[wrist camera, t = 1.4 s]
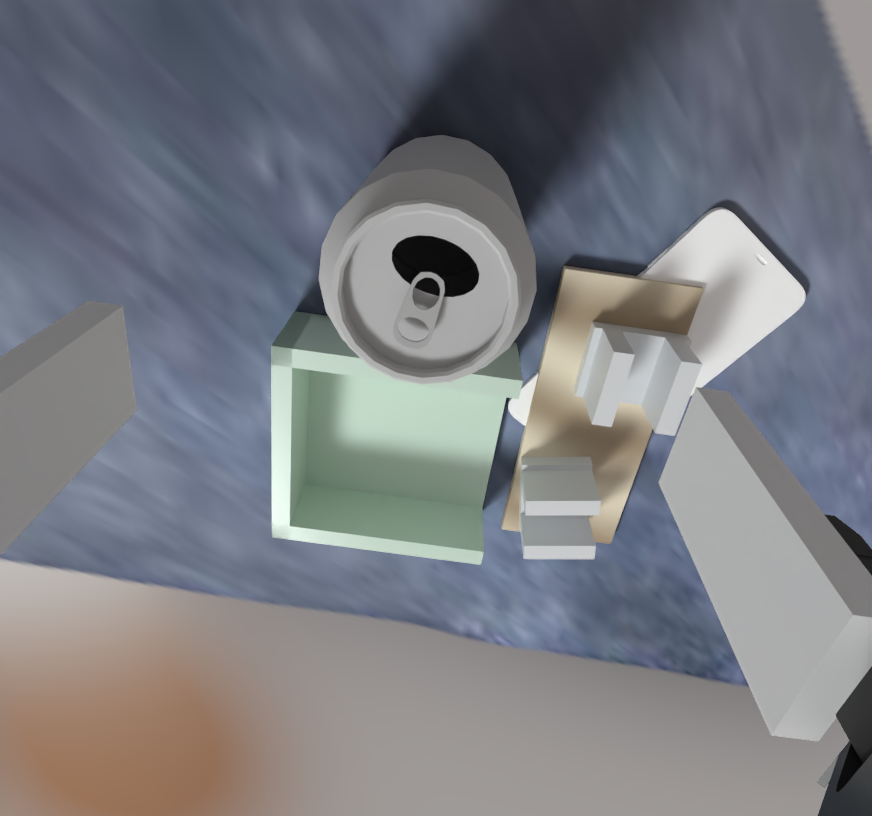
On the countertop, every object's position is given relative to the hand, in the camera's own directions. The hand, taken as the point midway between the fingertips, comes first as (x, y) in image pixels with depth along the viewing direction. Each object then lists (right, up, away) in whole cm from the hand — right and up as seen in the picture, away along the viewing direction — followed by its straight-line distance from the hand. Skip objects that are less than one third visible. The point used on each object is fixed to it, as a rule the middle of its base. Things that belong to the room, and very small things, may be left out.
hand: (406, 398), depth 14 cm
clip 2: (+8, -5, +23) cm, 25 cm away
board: (+9, -1, +21) cm, 23 cm away
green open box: (-2, -1, +22) cm, 22 cm away
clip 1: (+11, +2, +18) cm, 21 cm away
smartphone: (+12, +3, +19) cm, 23 cm away
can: (+1, +9, +16) cm, 18 cm away
